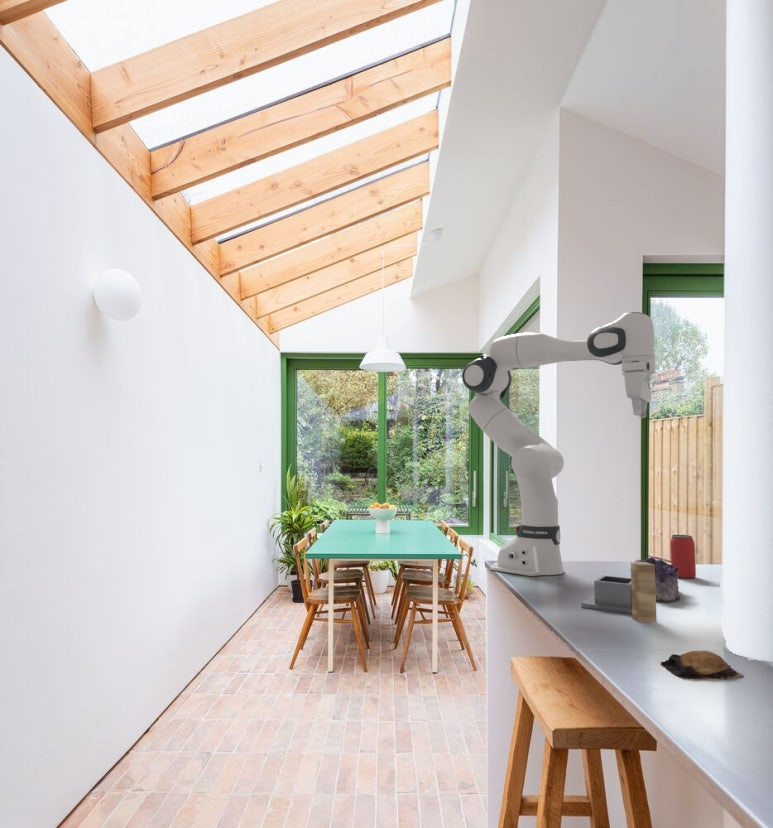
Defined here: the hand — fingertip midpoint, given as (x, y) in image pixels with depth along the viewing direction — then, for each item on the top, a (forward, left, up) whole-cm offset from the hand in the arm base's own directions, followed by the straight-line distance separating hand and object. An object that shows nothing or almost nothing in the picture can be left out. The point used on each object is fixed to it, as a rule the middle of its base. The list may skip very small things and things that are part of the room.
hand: (639, 416), depth 171 cm
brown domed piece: (+21, -68, -48) cm, 86 cm away
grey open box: (-1, -30, -47) cm, 56 cm away
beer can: (+7, +17, -47) cm, 50 cm away
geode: (+5, -12, -47) cm, 49 cm away
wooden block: (+7, -40, -47) cm, 62 cm away
